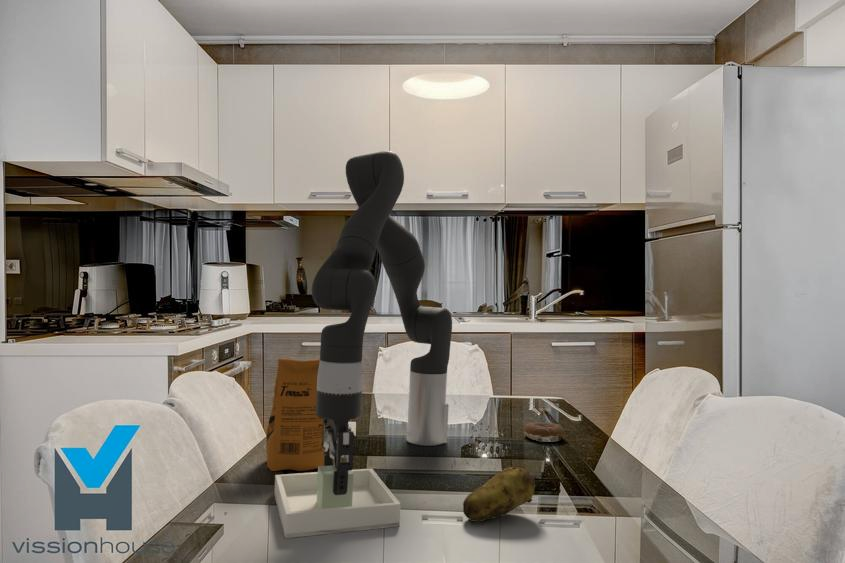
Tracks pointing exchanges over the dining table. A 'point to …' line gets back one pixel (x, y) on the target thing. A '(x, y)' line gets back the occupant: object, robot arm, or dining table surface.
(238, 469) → the dining table surface
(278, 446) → the coffee package
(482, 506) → the potato
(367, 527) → the bin
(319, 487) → the green cube
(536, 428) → the donut
